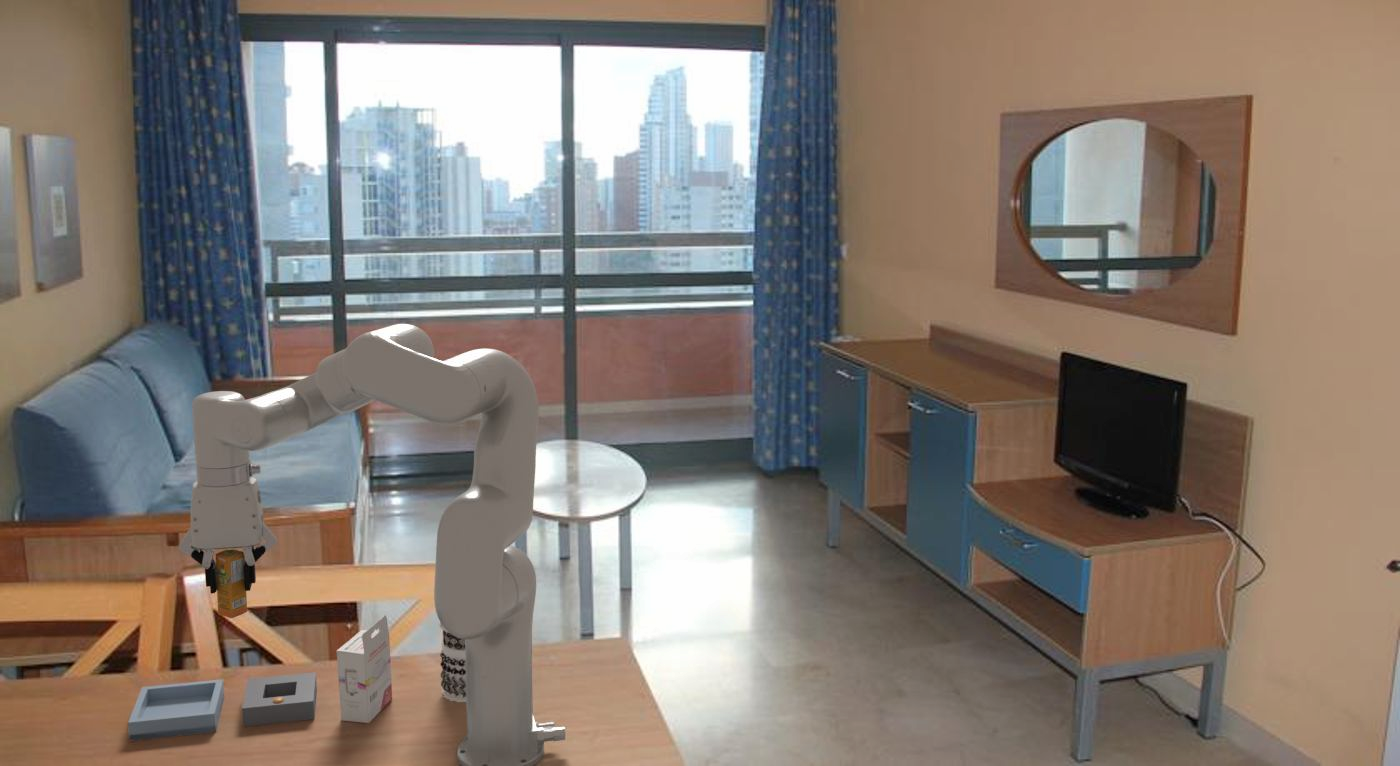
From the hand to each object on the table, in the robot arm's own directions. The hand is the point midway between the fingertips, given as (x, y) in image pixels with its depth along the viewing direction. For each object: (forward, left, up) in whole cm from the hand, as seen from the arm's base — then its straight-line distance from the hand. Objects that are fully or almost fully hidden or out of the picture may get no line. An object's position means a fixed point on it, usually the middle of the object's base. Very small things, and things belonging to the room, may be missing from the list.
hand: (231, 587), depth 186 cm
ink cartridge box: (-19, +4, -21) cm, 29 cm away
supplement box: (0, 0, -4) cm, 4 cm away
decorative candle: (-35, +1, -21) cm, 41 cm away
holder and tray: (+1, 0, -21) cm, 21 cm away
